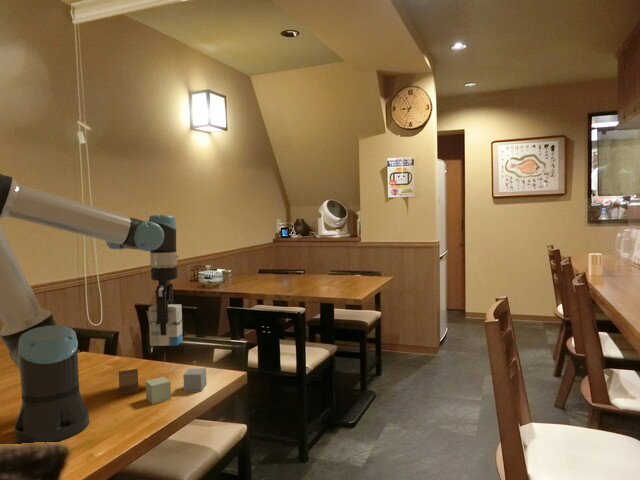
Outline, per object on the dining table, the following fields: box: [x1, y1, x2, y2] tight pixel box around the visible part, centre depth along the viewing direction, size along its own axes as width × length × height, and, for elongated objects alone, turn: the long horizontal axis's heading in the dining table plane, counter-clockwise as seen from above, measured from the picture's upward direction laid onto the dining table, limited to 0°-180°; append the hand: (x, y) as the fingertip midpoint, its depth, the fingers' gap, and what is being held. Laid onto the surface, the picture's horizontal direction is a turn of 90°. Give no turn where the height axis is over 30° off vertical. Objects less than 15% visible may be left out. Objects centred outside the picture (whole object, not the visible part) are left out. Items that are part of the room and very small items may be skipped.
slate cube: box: [183, 367, 207, 393], centre depth 131 cm, size 5×5×5 cm
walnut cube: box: [118, 368, 140, 395], centre depth 131 cm, size 5×5×5 cm
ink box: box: [148, 303, 184, 347], centre depth 138 cm, size 8×5×12 cm, turn 85°
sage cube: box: [145, 376, 172, 405], centre depth 124 cm, size 5×5×5 cm
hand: (166, 342), depth 138 cm, fingers closed on ink box, 6 cm apart
